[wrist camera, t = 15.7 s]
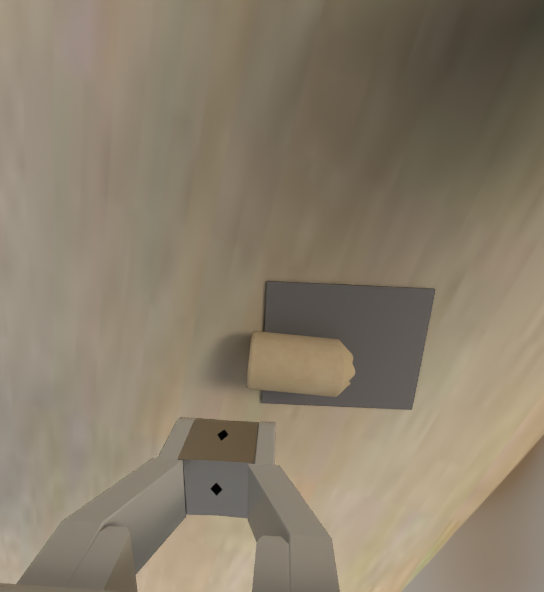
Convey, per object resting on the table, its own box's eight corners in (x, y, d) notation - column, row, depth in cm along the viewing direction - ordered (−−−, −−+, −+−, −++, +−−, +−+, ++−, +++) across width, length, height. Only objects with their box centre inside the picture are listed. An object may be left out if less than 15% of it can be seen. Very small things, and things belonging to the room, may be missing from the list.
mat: (433, 288, 29) (435, 289, 29) (410, 407, 33) (411, 409, 33) (266, 281, 29) (266, 281, 29) (261, 401, 33) (261, 403, 32)
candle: (248, 381, 31) (341, 389, 31) (244, 395, 25) (357, 406, 25) (253, 329, 31) (345, 338, 31) (251, 332, 26) (362, 343, 26)
